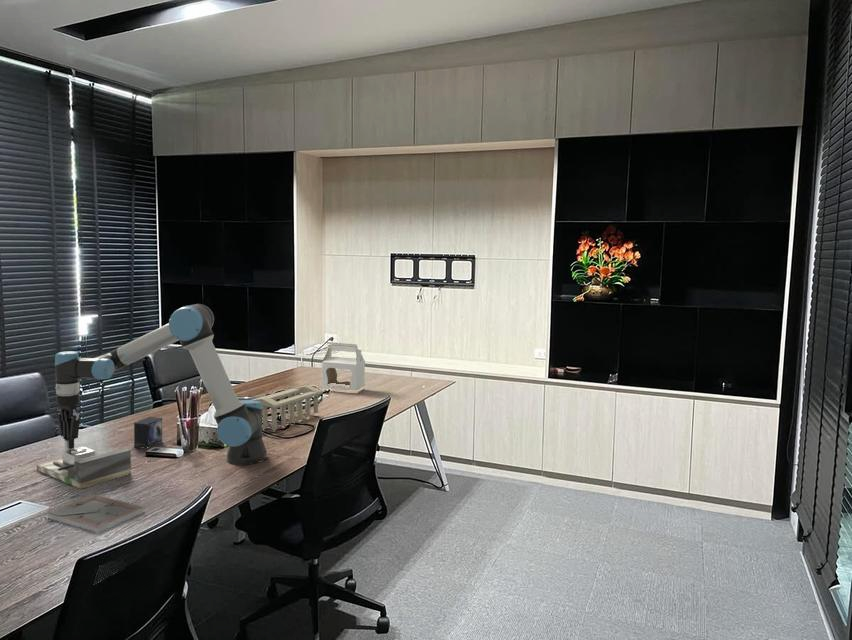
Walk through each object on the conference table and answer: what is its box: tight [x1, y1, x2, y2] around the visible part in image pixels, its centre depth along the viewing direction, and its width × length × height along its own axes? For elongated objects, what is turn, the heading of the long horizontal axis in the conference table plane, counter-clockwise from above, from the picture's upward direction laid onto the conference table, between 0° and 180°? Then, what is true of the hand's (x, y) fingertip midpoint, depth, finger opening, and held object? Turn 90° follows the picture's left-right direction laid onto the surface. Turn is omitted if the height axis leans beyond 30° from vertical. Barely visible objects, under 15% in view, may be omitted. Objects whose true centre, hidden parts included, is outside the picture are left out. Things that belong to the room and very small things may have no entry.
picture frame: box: [47, 493, 145, 533], centre depth 194 cm, size 16×2×22 cm
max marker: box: [68, 467, 75, 479], centre depth 218 cm, size 4×2×3 cm, turn 57°
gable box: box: [321, 342, 366, 390], centre depth 371 cm, size 22×13×28 cm, turn 75°
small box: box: [133, 416, 163, 449], centre depth 262 cm, size 11×6×10 cm, turn 168°
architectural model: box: [248, 384, 323, 431], centre depth 302 cm, size 35×15×15 cm, turn 153°
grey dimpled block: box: [58, 446, 96, 471], centre depth 228 cm, size 8×13×5 cm, turn 147°
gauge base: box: [36, 447, 132, 490], centre depth 229 cm, size 30×18×9 cm, turn 57°
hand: (69, 456), depth 234 cm, fingers closed
